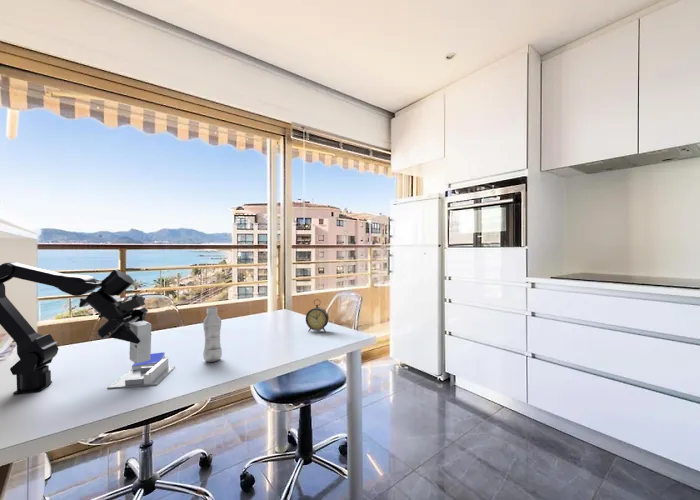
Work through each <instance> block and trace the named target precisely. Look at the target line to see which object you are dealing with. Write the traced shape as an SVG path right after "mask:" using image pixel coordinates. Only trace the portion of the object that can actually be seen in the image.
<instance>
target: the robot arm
mask: <svg viewBox="0 0 700 500" xmlns="http://www.w3.org/2000/svg"><path fill="white" fill-rule="evenodd" d="M13 278H14V279H19V280H25V281H29V282H32V283H37V284H42V285H46V286H51V287H54V288H56V289H58V290H59V291H61V292H64V293H65V294H68V295H70V296H74V297H78V296H80V297H81V296H83V295H87V294H88V295H87V296H86V297H81V298H80V299H79V304H78V307H79V308H82V307H87V306H90V307H91V308H92V309H93V310H95V311H96V312H97V313H98V314H99V315H98V318H99V319H103V318H104V319H105V320H106V322H105V323H104V324H103V325H102V326H101V327H100V328H98V329H97V335H98V337H99V338H101V339H102V340H103V339H106V338H108V339H115V340H121V341H125V342H129V343H130V342H132V343H136V344H138V343H139V342H140V340H139V339H138V337H137V336H136V335H135V334H134V333H133V332H132V331H131V330H130V323H134V322H139V321H146V315H147V313H148V312H149V310H148V309H147V308H145V307H143V306H145V305H146V303H145V300H146V297H144V296H143V295H141V294H136V295H134V296H131V299H129V300H127V301H123V300H117V299H116V298H114V296H115V297H116V296H118V297H119V296H121V295H122V294H123V293H124V292H125V291H126V290H127V289H129V288H130V287H131V286H132V285H133V284H135V281H134V278H132V277H131V276H130V275H129V274H126V273H124V272H123V271H120V270H119V269H113V270H112V271H111V272H110V273H109V274H108V275H107V276H106V277H105V278H103V279H97V278H95V277H94V276H91V275H86V274H75V273H74V274H71V273H70V274H67V273H62V272H58V271H54V270H53V271H52V270H48V269H45V268H40V267H35V266H32V265H28V264H23V263H21V262H17V261H13V262H4V263H2V264H0V327H2V329H3V330H4V331H5V332H6V333H7V334H8V335H9V337H10V338H11V339H12V340H13V341H14V343H15V344H16V354H17V356H18V358H19V360H18V361H17V362H16V363H15V364H14V365H12V366H11V367H10V369H9V370H10V372H11V374H12V375H13V376H16V390H15V391H13V392H12V394H13V395H20V394H21V395H22V394H27V393H35V392H36V393H37V392H41V391H42V390H44V389H45V388H47V387H48V386H49V385H51V384H52V383H53V380H52V374H51V370H50V369H49V368H50V367H49V364H50V363H52V361H53V358H55V357H56V356H57V354H58V352H59V347H58V344H59V342H58V341H55V340H54V338H53V336H52V335H51V334H50V333H47V334H45V335H42V334H41V333H38V332H37V331H36V330H35V329H34V328H33V327H32V326H31V324H30V323H29V322H28V321H27V320H26V318H25V317H24V316H23V315H22V313H21V312H20V311H19V310H18V309H17V308H16V306H15V305H14V304H13V303H12V302H11V301H10V299H9V298H8V297H7V295H6V286H5V283H6V282H8V281H10V280H12V279H13ZM96 289H98V290H97V291H95V290H96ZM151 336H152V333H151Z"/></svg>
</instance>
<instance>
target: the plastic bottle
mask: <svg viewBox="0 0 700 500" xmlns="http://www.w3.org/2000/svg"><path fill="white" fill-rule="evenodd" d="M202 325H203V331H204V348H203V353H202V354H203V359H204V361H205V362H209V363H212V362H216V361H219V360H221V358H222V356H223V351H222V350H223V349H222V347H221V345H222V343H221V329H222V319H221V317H220V316H219V315H218V307H216V306H212V307H211V306H210V307H207V308H206V316H205V318H204V319H203V322H202Z"/></svg>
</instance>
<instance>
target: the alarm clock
mask: <svg viewBox="0 0 700 500" xmlns="http://www.w3.org/2000/svg"><path fill="white" fill-rule="evenodd" d="M316 301H319V302H321V300H320V299H319V298H316V299H314V300H313V304H314V305H315V307H313V308H312V309H309V311H308V312H307V313H306V315H305V323H306V325H307V327H308V328H309V329H308V332H310V331H316V332H317V331H321V330H323V331H324V333H326V332H327V331H326V329H325V327H326V326H327V325H328V323H329V313H328V312H327V310H326V309H324V308H322V307H319V306H320V305H321V303H319V304H316V303H315V302H316Z"/></svg>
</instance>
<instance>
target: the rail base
mask: <svg viewBox="0 0 700 500" xmlns="http://www.w3.org/2000/svg"><path fill="white" fill-rule="evenodd" d="M175 368H176V366H175V365H173V366H169V357H166V358H163V359H162V360H161V361H159V362H158V363H157V364H156V365H155V366H148V367H141V368H140V369H138V370H132V368H131V369H130V370H129V371H127V372H126V373H125V374H123V375H122V376H121V377H119V378H118V379H117V380H116V381H114V382H113V383H111V384H110V385H109V386H108V387H107V389H108V390H110V389H112V390H113V389H125V388H140V387H154V386H155V387H156V386H158V385H160V383H161V382H162V381H163V380H164V379H165V378H166V377H167V376H168V375H169V374H170V373H171V372H172V371H173V370H174V369H175Z"/></svg>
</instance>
